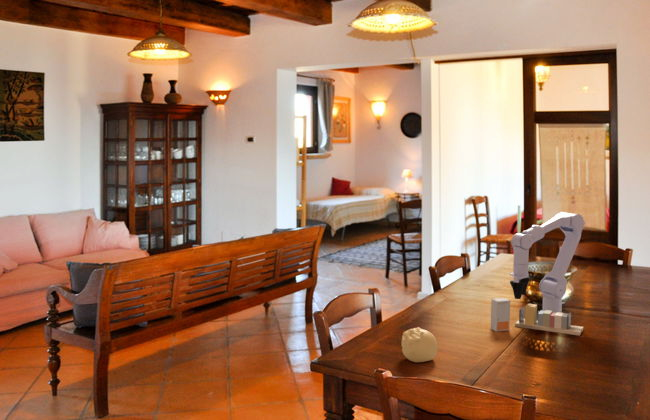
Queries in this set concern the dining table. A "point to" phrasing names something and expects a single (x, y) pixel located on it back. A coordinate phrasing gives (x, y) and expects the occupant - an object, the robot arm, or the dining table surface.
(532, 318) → the tan rectangular block
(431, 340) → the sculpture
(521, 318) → the bookends
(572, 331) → the shelf board
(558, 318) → the books
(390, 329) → the dining table surface
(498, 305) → the skincare box
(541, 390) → the dining table surface
